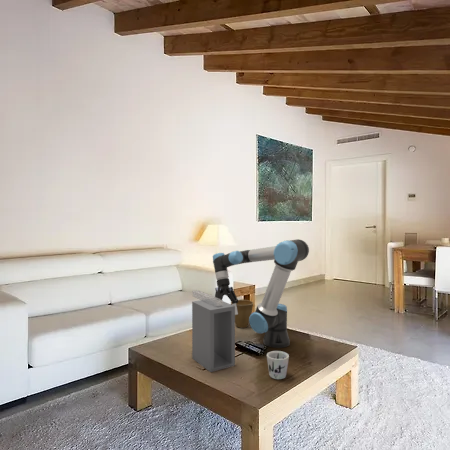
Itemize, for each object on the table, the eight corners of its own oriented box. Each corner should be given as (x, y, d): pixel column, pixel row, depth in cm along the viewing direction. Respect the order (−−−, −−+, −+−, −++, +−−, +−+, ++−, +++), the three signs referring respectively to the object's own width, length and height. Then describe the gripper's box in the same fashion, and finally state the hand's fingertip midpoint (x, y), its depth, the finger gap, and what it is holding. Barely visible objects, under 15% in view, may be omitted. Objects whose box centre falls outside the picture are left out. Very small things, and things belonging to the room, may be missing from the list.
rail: (192, 296, 206) (192, 290, 206) (198, 295, 208) (198, 290, 208) (216, 307, 184) (216, 301, 184) (222, 306, 186) (222, 300, 186)
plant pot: (257, 327, 247) (257, 303, 247) (238, 331, 240) (238, 306, 239) (244, 321, 260) (244, 298, 259) (226, 325, 252) (226, 301, 251)
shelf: (192, 358, 197) (192, 301, 195) (215, 353, 204) (215, 298, 202) (210, 372, 180) (210, 310, 179) (234, 365, 188) (234, 306, 186)
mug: (264, 379, 173) (264, 357, 173) (270, 366, 188) (270, 346, 187) (287, 382, 170) (287, 360, 170) (291, 368, 184) (291, 348, 184)
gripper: (230, 280, 236) (236, 315, 230) (204, 280, 216) (210, 318, 210) (239, 278, 231) (246, 312, 226) (214, 277, 212) (220, 315, 206)
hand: (228, 315), depth 218 cm, fingers open, 13 cm apart
